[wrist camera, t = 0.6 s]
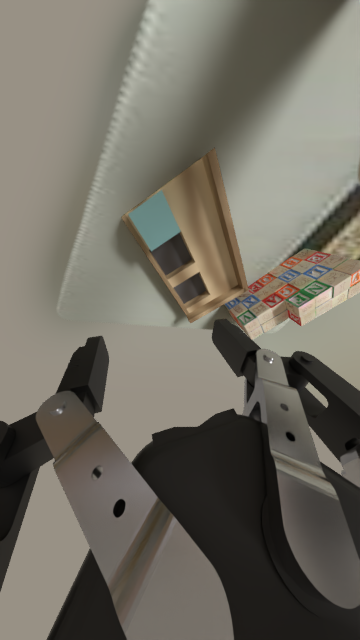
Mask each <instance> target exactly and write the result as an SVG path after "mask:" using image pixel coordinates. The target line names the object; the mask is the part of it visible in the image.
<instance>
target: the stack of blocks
mask: <svg viewBox="0 0 360 640" xmlns="http://www.w3.org/2000/svg"><path fill="white" fill-rule="evenodd" d="M248 289H249V290H248V291H246V292H245V293H243V294H241V295H239V296H238V297H236V298H234V299H232V300H231V301H229V302H227V303H225V306H226V308H227V310H228V311H229V313H230V315H231V316H232V318H233V319H234V320H235V321H236V322H237V324H238V325H239V326H240V327H241V328H242V329H243V330H244V332H245V333H246V334H247V335H248V336H249V338H250V339H251V340H253V339H255V338H256V337H258V336H260V335H261V334H263V333H265V332H267V331H268V330H270V329H272V328H273V327H275V326H276V325H278V324H280V323H282V322H283V321H285V320H286V319H288V318H290V319H292V320H293V321H295V322H296V323H297V324H299V325H300V326H303V325H304V324H306V323H308V322H309V321H311V320H313V319H314V318H316V317H318V316H320V315H321V314H323V313H325V312H327V311H328V310H330V309H331V308H333V307H335V306H336V305H338V304H340V303H342V302H343V301H345V300H346V299H349V298H350V297H352V296H354V295H356V294H357V293H359V292H360V261H358V260H353V259H350V258H346V257H341V256H337V255H331V254H327V253H322V252H317V251H314V250H309V249H303V250H302V251H300V252H299V253H297V254H296V255H294V256H293V257H291V258H289V259H288V260H286V261H285V262H283V263H282V264H280V265H279V266H277V267H276V268H274V269H273V270H271V271H270V272H269V273H268V274H266V275H265V276H263V277H262V278H260V279H259V280H257V281H256V282H255V283H253V284H252V285H250V286H249V287H248Z"/></svg>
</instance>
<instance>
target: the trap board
mask: <svg viewBox="0 0 360 640" xmlns="http://www.w3.org/2000/svg"><path fill="white" fill-rule="evenodd" d="M161 190H162V192H163V194H164V196H165V198H166V200H167V203H168V205H169V207H170V209H171V211H172V213H173V216H174V218H175V220H176V222H177V224H178V226H179V229H180V231H181V232H179V233H178V234H176V235H175V236H173V237H172V238H170V239H169V240H167V241H166V242H164V243H163V244H162V245H160V246H159V247H157V248H156V249H154V250H153V251H151V250H150V248H149V247H148V245H147V244H146V242H145V240H144V239H143V237H142V236H141V234H140V233H139V231H138V229H137V228H136V226H135V225H134V223H133V221H132V220H131V218H130V217H129V215H128V214H129V213H131V212H132V211H133V210H135V209H136V208H137V207H139V206H140V205H142V204H143V203H144V202H146V201H147V200H148V199H150V198H151V197H152V196H154V195H155V194H157V193H158V192H159V191H161ZM121 218H122V220H123V221H124V223H125V224H126V226H127V227H128V229H129V230H130V232H131V233H132V235H133V236H134V238H135V239H136V241H137V242H138V244H139V245H140V247H141V248H142V250H143V251H144V253H145V254H146V256H147V257H148V259H149V260H150V262H151V263H152V265H153V266H154V268H155V269H156V271H157V272H158V274H159V275H160V276H161V278H162V279H163V281H164V282H165V284H166V285H167V287H168V288H169V290H170V291H171V293H172V294H173V296H174V297H175V299H176V300H177V302H178V303H179V305H180V306H181V308H182V309H183V311H184V312H185V314H186V316H187V318H188V320H189V322H190V323H192V322H194V321H195V320H197V319H199V318H201V317H202V316H204V315H206V314H208V313H209V312H211V311H213V310H215V309H216V308H218V307H220V306H222V305H223V304H225V303H227V302H229V301H231V300H232V299H234V298H236V297H238V296H239V295H241V294H243V293H245V292H246V291H248V290H249V289H248V285H247V281H246V277H245V272H244V268H243V264H242V260H241V256H240V251H239V247H238V243H237V239H236V235H235V230H234V226H233V222H232V218H231V214H230V209H229V205H228V201H227V197H226V193H225V188H224V184H223V180H222V176H221V172H220V167H219V163H218V159H217V155H216V151H215V148H214V149H212V150H211V151H210V152H208V153H207V154H206V155H204V156H203V157H202V158H201V159H199V160H198V161H196V162H195V163H194V164H192V165H191V166H190V167H188V168H187V169H186V170H184V171H183V172H182V173H180V174H179V175H177V176H176V177H175V178H173V179H172V180H171V181H169V182H168V183H167V184H165V185H164V186H162V187H161V188H160V189H158V190H157V191H156V192H154V193H153V194H152V195H150V196H149V197H147V198H146V199H145V200H143V201H142V202H141V203H139V204H138V205H137V206H135V207H134V208H133V209H131V210H130V211H128V212H127V213H126V214H124V215H123V216H122V217H121Z"/></svg>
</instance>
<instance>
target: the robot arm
mask: <svg viewBox="0 0 360 640" xmlns="http://www.w3.org/2000/svg"><path fill="white" fill-rule="evenodd" d="M212 340H213V343H214V345H215V346H216V347H217V349H218V350H219V352H220V353H221V354H222V356H223V357H224V359H225V360H226V362H227V363H228V364H229V366H230V367H231V369H232V370H233V371H234V373H235V374H236V376H237V377H240V376H245V377H246V379H245V391H244V392H245V393H244V394H245V395H244V410H243V414H242V415H238V414H236V412H235V410H234V409H230V410H227V411H224V412H221V413H217V414H215V415H214V416H212V417H211V418H209V419H208V420H207V421H205V422H204V423H203V424H201V425H200V426H198V427H173V428H170V429H167V430H164V431H161V432H157V433H154V434H152V439H153V441H152V442H151V443H149V444H148V445H146V446H145V447H144V448H143V449H142V450H141V451H140V452H139V453H138V454H137V456H136V457H135V459H134V460H133V461H132V463H131V462H129V460H128V459H127V457H126V456H125V455H124V454H123V452H122V451H121V450H120V448H119V447H118V446H117V445H116V444H115V442H114V441H113V440H112V438H111V437H110V436H109V434H108V433H107V432H106V431H105V429H104V428H103V427H102V426H101V424H99V422H97V421H96V420H95V419H94V413H98V412H101V411H102V405H103V399H104V392H105V385H106V378H107V371H108V364H109V356H108V351H107V349H106V345H105V342H104V339H103V337H102V336H98V337H90V338H88V339H87V342H86V345H85V346H84V347H79V348H78V349H77V350H76V352H74V353H73V355H72V358H71V360H70V363H69V364H68V367H67V369H66V371H65V374H64V376H63V378H62V381H61V383H60V385H59V387H58V390H57V392H56V394H55V395H53V396H51V397H50V398H49V399H47V400H46V401H45V402H44V403H43V404H42V405H41V406H40V408H39V409H38V411H37V412H35V413H33V414H32V415H29V416H27V417H25V418H23V419H21V420H19V421H17V422H14V423H12V424H10V425H8V424H7V423H5V422H3V421H0V591H1V588H2V584H3V581H4V578H5V575H6V572H7V568H8V566H9V562H10V559H11V556H12V553H13V550H14V547H15V543H16V540H17V537H18V534H19V531H20V528H21V525H22V521H23V518H24V515H25V512H26V509H27V506H28V502H29V499H30V496H31V493H32V490H33V487H34V484H35V481H36V477H37V474H38V471H39V468H40V466H42V465H43V464H45V463H46V462H48V461H50V460H51V459H53V458H54V459H55V462H54V463H53V466H54V469H55V472H56V474H57V476H58V479H59V481H60V483H61V485H62V487H63V490H64V491H65V494H66V496H67V498H68V500H69V502H70V505H71V507H72V509H73V511H74V513H75V515H76V518H77V520H78V522H79V524H80V527H81V529H82V531H83V533H84V535H85V537H86V539H87V542H88V544H89V546H90V549H89V551H88V554H87V556H86V558H85V560H84V562H83V564H82V566H81V568H80V570H79V573H78V575H77V577H76V579H75V581H74V583H73V585H72V587H71V590H70V591H69V594H68V596H67V598H66V600H65V602H64V604H63V606H62V608H61V610H60V612H59V615H58V617H57V619H56V621H55V623H54V625H53V627H52V629H51V631H50V634H49V636H48V638H47V640H360V391H359V390H357V389H356V388H355V387H354V386H352V385H351V384H349V383H348V382H347V381H346V380H344V379H343V378H342V377H340V376H339V375H338V374H336V373H335V372H334V371H332V370H331V369H330V368H329V367H327V366H326V365H324V364H323V363H322V362H320V361H319V360H318V359H317V358H315V357H314V356H312V355H310V354H308V353H305V352H300V351H296V352H294V353H293V355H292V356H291V357H280V356H279V355H278V354H276V353H275V352H273V351H271V350H268V349H261V348H260V347H259V346H258V345H257V344H256V343H255V342H254V341H252V340H251V339H250V338H249V337H248V336H247V335H246V334H245V333H243V331H242V330H241V329H240V328H239V327H237V326H235V325H233V324H231V323H230V322H229V321H228V320H227V319H220V320H216V321H215V322H214V328H213V333H212ZM308 382H310V383H311V384H312V385H313V386H314V387H315V388H316V389H317V390H318V391H319V392H320V393H321V394H322V395H324V396H325V398H326V399H327V401H328V407H327V408H326V407H325V406H323V404H322V403H320V401H318V400H317V399H316V398H315V397H314V396H313V395H312V394H311V393H310V392H309V391H308V390H307V389H306V388H305V386H306V385H307V384H308ZM309 426H310V427H311V428H312V429H313V430H314V432H315V433H316V434H317V435H318V436H319V438H320V439H321V440H322V441H323V442H324V444H325V445H326V446H327V447H328V448H329V450H330V451H331V452H332V453H333V454H334V455H335V457H336V458H337V459H338V460H339V461H340V462H341V464H342V467H343V469H344V470H342V473H341V474H342V476H341V475H340V474H338V473H337V472H335V471H334V470H332V469H331V468H329V467H327V466H326V465H324V464H323V463H322V462H320V461H319V458H318V455H317V451H316V448H315V445H314V442H313V438H312V435H311V432H310V429H309Z"/></svg>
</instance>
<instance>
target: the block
mask: <svg viewBox="0 0 360 640" xmlns="http://www.w3.org/2000/svg"><path fill="white" fill-rule="evenodd" d="M128 215H129V217H130V218H131V220H132V221H133V223H134V225H135V226H136V228H137V229H138V231H139V233H140V234H141V236H142V237H143V239H144V240H145V242H146V244H147V245H148V247H149V248H150V250H151V251H153V250H154V249H156V248H157V247H159V246H160V245H162V244H163V243H164V242H166V241H167V240H169V239H170V238H172V237H173V236H175V235H176V234H178V233H179V232H181V231H180V229H179V226H178V224H177V222H176V220H175V218H174V216H173V213H172V211H171V209H170V207H169V205H168V203H167V200H166V198H165V196H164V194H163V192H162V190H161V191H159V192H158V193H157V194H155V195H154V196H152V197H151V198H150V199H148V200H147V201H146V202H144V203H143V204H142V205H140V206H139V207H137V208H136V209H135V210H133V211H132V212H131V213H129V214H128Z"/></svg>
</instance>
